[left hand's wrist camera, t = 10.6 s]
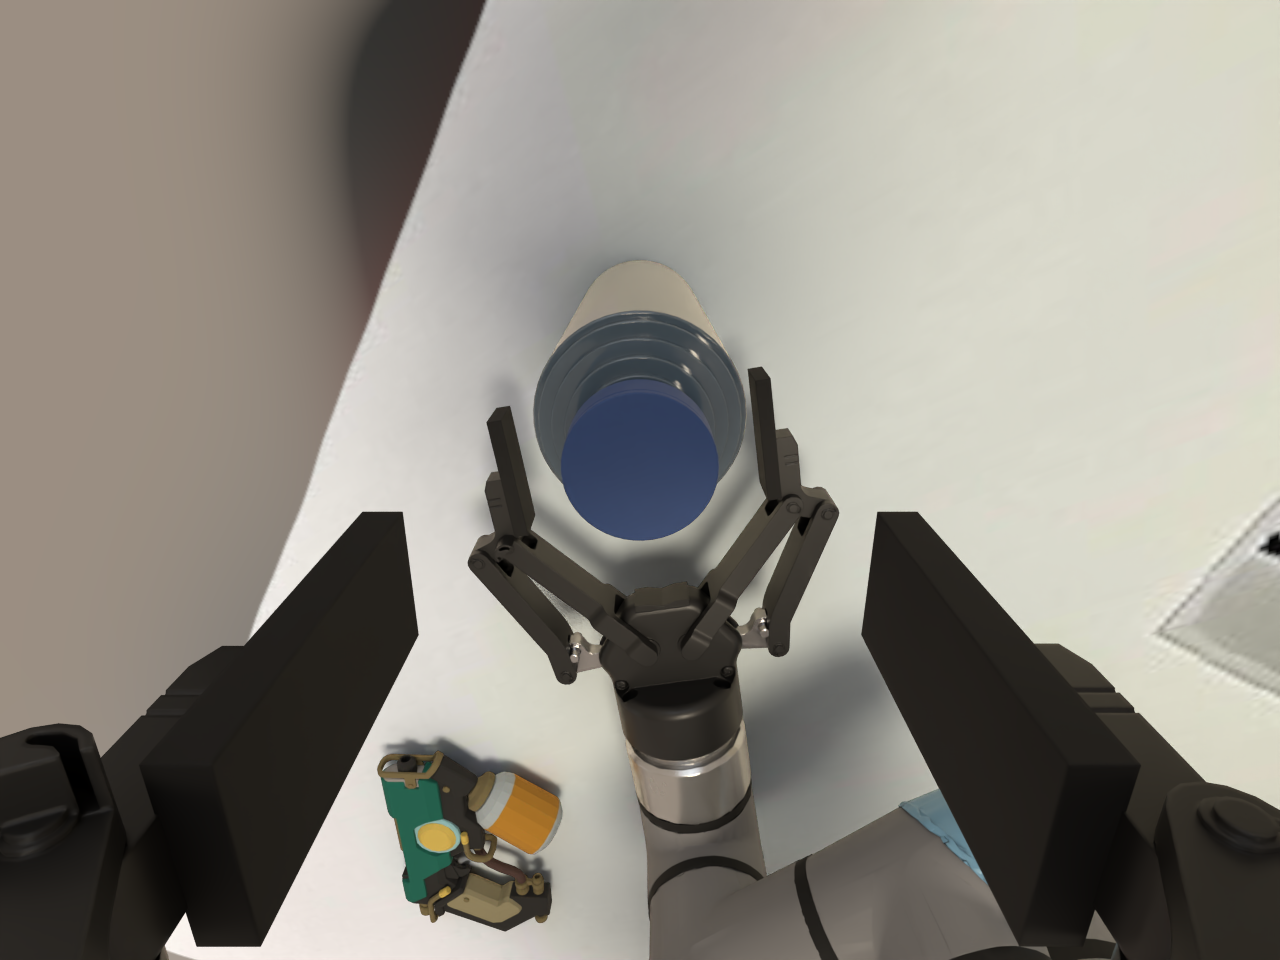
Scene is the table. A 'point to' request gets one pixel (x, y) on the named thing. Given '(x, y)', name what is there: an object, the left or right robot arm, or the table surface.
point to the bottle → (639, 356)
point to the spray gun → (468, 837)
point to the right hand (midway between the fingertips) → (627, 392)
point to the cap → (639, 460)
